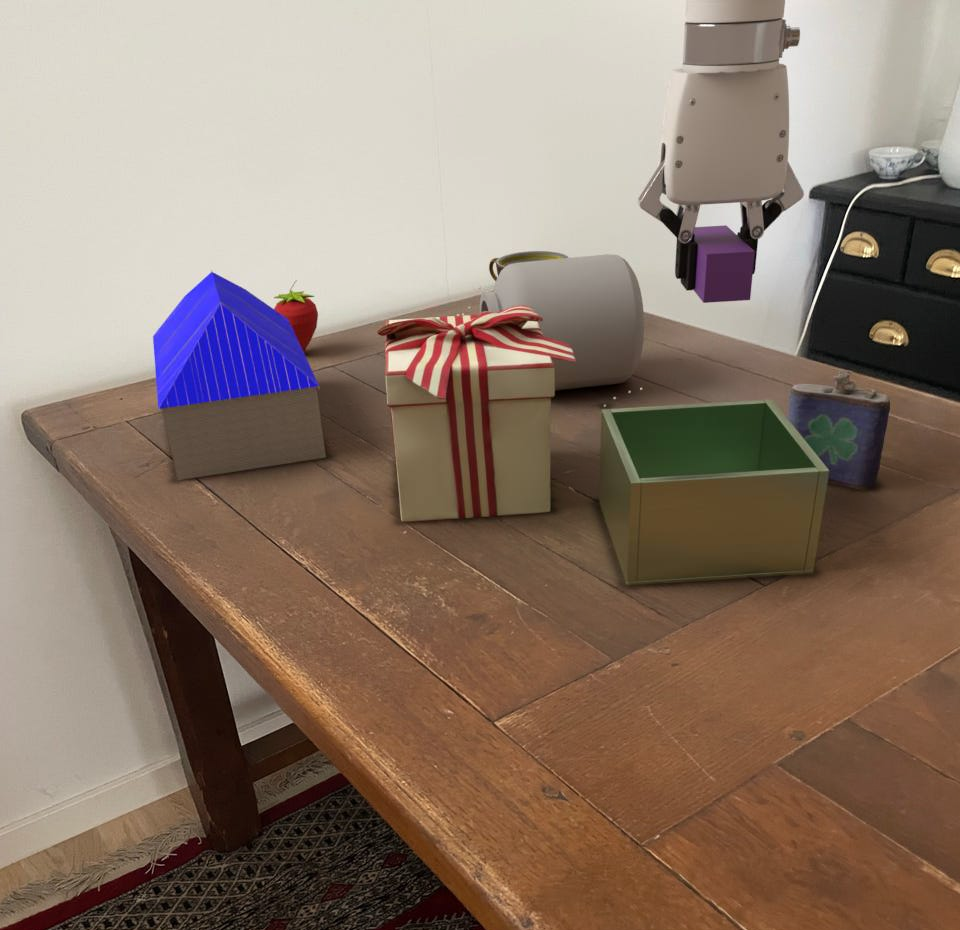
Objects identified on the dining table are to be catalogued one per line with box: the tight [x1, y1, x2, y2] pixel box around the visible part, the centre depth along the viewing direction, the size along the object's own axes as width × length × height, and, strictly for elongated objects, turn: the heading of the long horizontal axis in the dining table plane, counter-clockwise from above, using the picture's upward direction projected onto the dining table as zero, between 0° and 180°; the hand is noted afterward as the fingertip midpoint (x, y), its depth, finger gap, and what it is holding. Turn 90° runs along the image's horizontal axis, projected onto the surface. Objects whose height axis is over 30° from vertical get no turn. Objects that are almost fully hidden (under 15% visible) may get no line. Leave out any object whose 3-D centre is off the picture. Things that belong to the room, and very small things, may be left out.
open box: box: [598, 398, 829, 586], centre depth 89 cm, size 16×16×10 cm
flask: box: [786, 370, 891, 491], centre depth 97 cm, size 9×3×11 cm, turn 58°
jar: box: [456, 254, 645, 408], centre depth 120 cm, size 19×15×25 cm
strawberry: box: [273, 279, 319, 353], centre depth 136 cm, size 6×8×10 cm
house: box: [152, 269, 327, 481], centre depth 113 cm, size 25×16×16 cm, turn 16°
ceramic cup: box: [488, 250, 571, 282], centre depth 140 cm, size 13×10×10 cm
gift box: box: [376, 305, 576, 523], centre depth 96 cm, size 17×18×17 cm
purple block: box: [692, 224, 755, 304], centre depth 90 cm, size 4×10×4 cm, turn 2°
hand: (713, 282), depth 91 cm, fingers closed on purple block, 4 cm apart
